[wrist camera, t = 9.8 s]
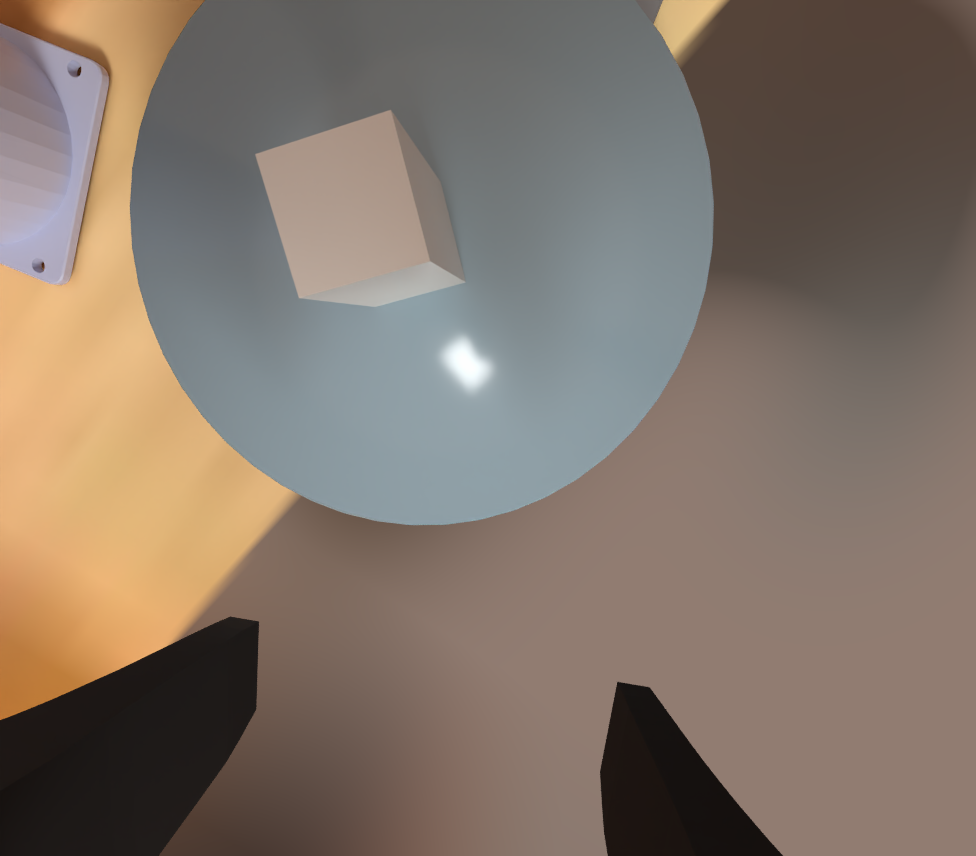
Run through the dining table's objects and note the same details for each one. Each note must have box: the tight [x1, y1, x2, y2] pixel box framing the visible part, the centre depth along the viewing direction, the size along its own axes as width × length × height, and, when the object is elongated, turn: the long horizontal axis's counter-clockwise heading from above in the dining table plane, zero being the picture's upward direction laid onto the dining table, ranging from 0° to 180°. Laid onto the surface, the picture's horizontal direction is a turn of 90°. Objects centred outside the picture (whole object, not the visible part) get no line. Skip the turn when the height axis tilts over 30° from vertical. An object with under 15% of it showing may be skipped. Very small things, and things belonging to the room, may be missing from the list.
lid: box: [130, 0, 714, 525], centre depth 13 cm, size 17×17×6 cm
